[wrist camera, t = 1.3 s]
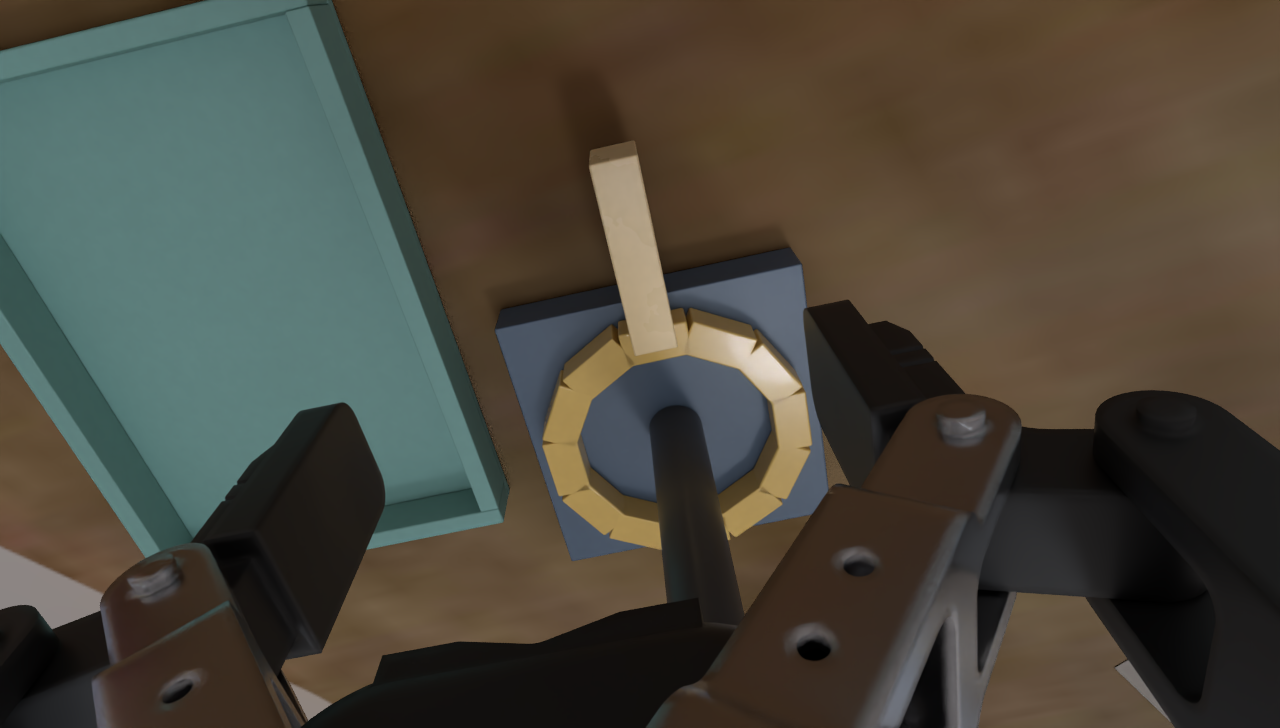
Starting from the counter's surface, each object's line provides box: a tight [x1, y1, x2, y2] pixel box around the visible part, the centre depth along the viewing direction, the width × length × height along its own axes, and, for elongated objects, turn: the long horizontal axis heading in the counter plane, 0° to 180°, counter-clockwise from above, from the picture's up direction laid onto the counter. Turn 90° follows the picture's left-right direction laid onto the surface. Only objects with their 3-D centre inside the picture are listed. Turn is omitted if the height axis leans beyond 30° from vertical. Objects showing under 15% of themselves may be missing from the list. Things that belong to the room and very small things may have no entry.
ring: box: [542, 141, 812, 550], centre depth 29 cm, size 17×11×2 cm, turn 12°
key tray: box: [0, 0, 510, 558], centre depth 29 cm, size 22×16×2 cm
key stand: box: [495, 248, 829, 626], centre depth 24 cm, size 12×12×20 cm
